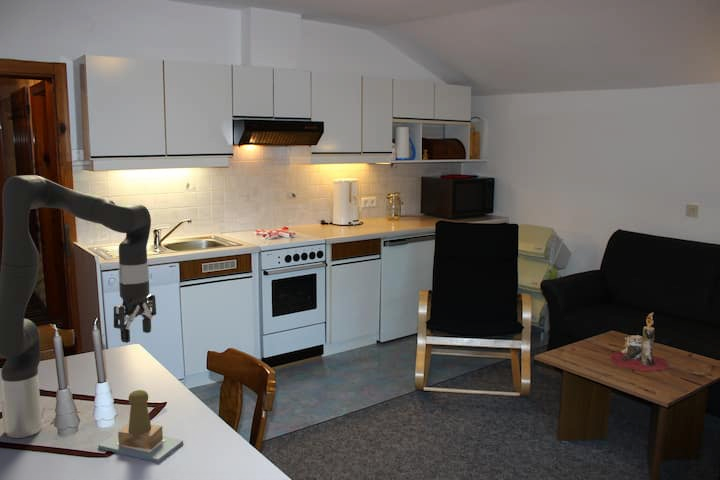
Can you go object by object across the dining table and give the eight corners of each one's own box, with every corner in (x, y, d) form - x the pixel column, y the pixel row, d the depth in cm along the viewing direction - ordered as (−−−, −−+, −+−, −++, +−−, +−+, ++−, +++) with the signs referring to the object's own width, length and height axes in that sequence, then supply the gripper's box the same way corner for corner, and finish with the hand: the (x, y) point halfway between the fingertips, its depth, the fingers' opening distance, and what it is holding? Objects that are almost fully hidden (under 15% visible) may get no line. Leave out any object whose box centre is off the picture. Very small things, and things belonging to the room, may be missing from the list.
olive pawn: (144, 435, 170) (142, 397, 168) (123, 432, 171) (122, 395, 169) (155, 425, 176) (153, 388, 174) (135, 422, 177) (134, 386, 175)
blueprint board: (98, 448, 173) (98, 444, 173) (125, 430, 183) (125, 427, 183) (158, 462, 166) (158, 458, 166) (183, 443, 176) (183, 439, 176)
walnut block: (118, 445, 172) (118, 431, 172) (130, 434, 178) (130, 422, 178) (151, 449, 171) (151, 436, 170) (162, 439, 176) (162, 425, 176)
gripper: (140, 272, 174) (142, 327, 177) (103, 283, 161) (106, 343, 164) (162, 275, 171) (164, 331, 174) (127, 286, 158) (130, 347, 161)
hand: (136, 337), depth 169 cm, fingers open, 8 cm apart
